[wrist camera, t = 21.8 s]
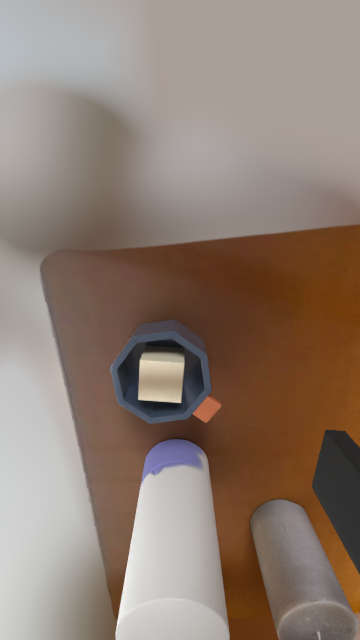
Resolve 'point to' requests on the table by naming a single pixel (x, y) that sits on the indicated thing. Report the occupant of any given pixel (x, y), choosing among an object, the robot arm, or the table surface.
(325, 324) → the table surface
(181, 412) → the bowl
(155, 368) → the block
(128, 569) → the container
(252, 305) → the table surface
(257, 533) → the pillar candle
